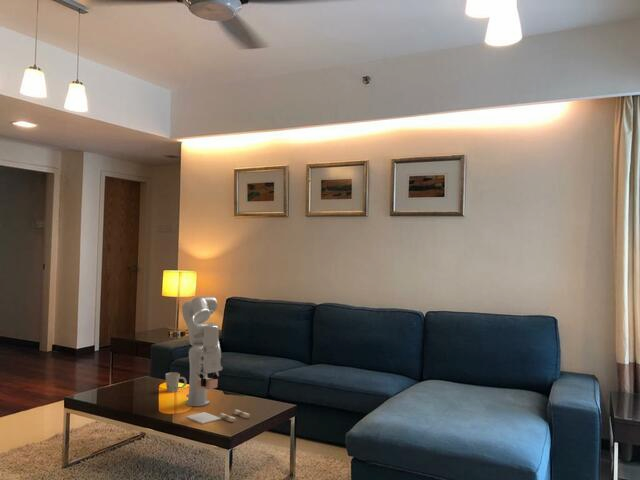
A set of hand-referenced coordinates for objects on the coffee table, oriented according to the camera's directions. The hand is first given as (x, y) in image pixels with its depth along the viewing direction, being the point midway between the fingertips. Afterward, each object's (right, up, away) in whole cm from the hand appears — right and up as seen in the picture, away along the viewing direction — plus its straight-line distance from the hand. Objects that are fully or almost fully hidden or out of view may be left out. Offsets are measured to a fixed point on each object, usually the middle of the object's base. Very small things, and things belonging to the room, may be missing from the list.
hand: (209, 384), depth 260 cm
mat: (-2, -16, -3) cm, 16 cm away
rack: (+13, -17, -1) cm, 21 cm away
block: (-1, -1, +1) cm, 2 cm away
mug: (-31, -17, +48) cm, 59 cm away
